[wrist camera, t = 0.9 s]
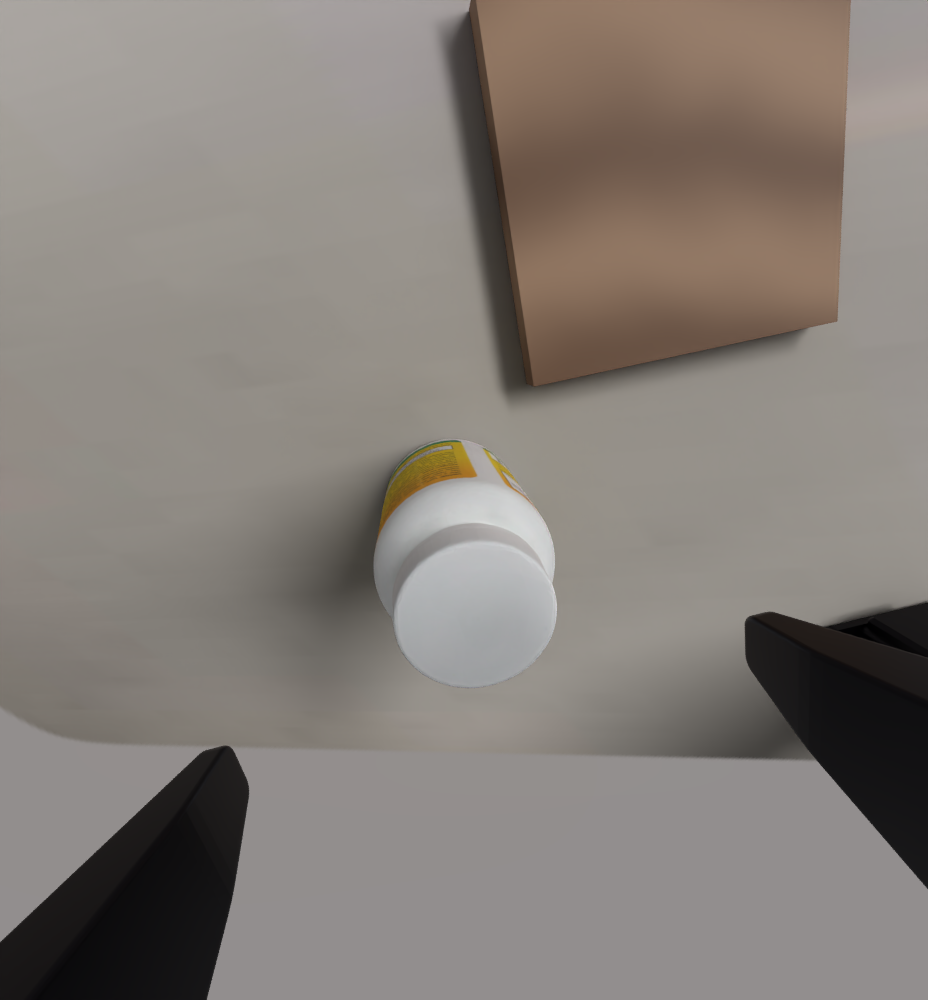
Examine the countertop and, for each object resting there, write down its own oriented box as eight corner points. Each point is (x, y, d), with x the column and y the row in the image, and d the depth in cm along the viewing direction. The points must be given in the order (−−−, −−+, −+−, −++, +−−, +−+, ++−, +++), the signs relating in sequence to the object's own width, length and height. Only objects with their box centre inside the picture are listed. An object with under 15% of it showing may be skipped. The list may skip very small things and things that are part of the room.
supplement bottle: (530, 457, 21) (623, 549, 12) (488, 570, 22) (542, 730, 13) (405, 419, 20) (401, 485, 11) (369, 539, 21) (338, 689, 12)
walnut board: (813, 322, 20) (837, 321, 19) (526, 383, 20) (533, 386, 19) (823, -56, 16) (854, -86, 15) (468, 9, 16) (473, -16, 15)
